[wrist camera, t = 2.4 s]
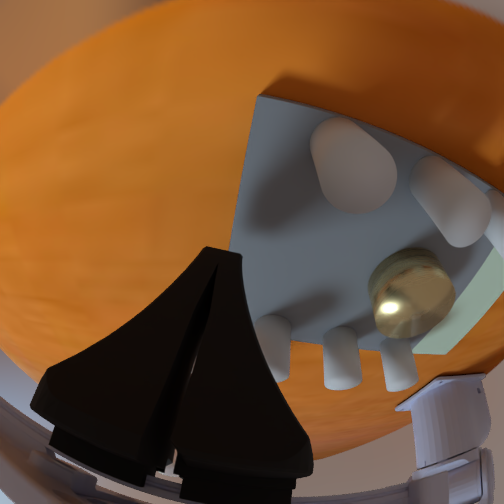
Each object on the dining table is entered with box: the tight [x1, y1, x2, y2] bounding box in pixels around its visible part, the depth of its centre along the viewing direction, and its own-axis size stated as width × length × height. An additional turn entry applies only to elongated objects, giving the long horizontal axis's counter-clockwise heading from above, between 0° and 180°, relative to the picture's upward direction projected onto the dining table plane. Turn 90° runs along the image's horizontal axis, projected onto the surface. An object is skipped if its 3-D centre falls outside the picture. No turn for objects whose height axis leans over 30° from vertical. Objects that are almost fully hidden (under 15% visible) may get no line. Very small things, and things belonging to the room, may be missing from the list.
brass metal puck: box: [368, 247, 456, 339], centre depth 11 cm, size 4×4×2 cm
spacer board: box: [229, 94, 504, 391], centre depth 11 cm, size 17×12×4 cm
